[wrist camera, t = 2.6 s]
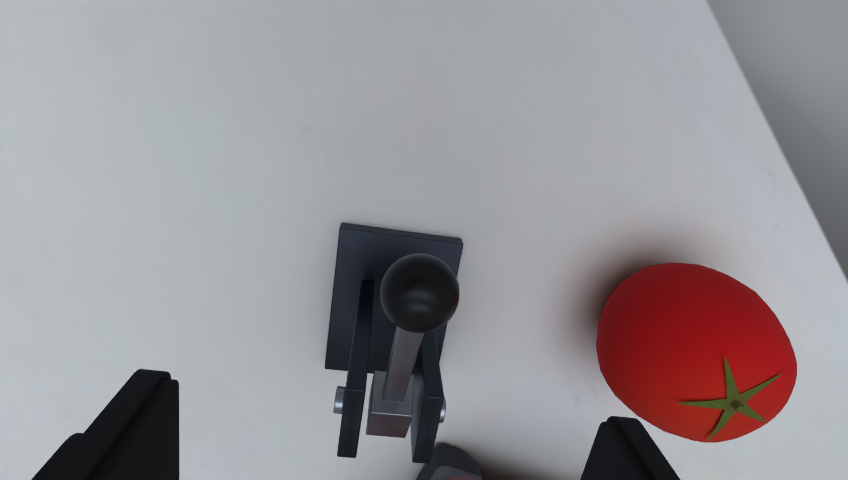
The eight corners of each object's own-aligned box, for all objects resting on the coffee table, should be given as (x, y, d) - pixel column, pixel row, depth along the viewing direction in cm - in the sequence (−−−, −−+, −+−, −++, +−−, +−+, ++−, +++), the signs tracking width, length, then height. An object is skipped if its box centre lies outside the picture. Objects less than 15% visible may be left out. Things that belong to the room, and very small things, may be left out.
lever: (387, 232, 19) (381, 295, 17) (465, 242, 20) (469, 305, 17) (362, 387, 28) (355, 441, 26) (415, 392, 29) (413, 446, 26)
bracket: (341, 222, 35) (310, 316, 22) (461, 238, 36) (498, 337, 23) (326, 360, 39) (293, 508, 26) (434, 371, 40) (453, 518, 27)
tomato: (728, 249, 38) (884, 336, 26) (680, 364, 41) (796, 488, 29) (592, 228, 36) (690, 310, 24) (555, 349, 40) (624, 472, 28)
